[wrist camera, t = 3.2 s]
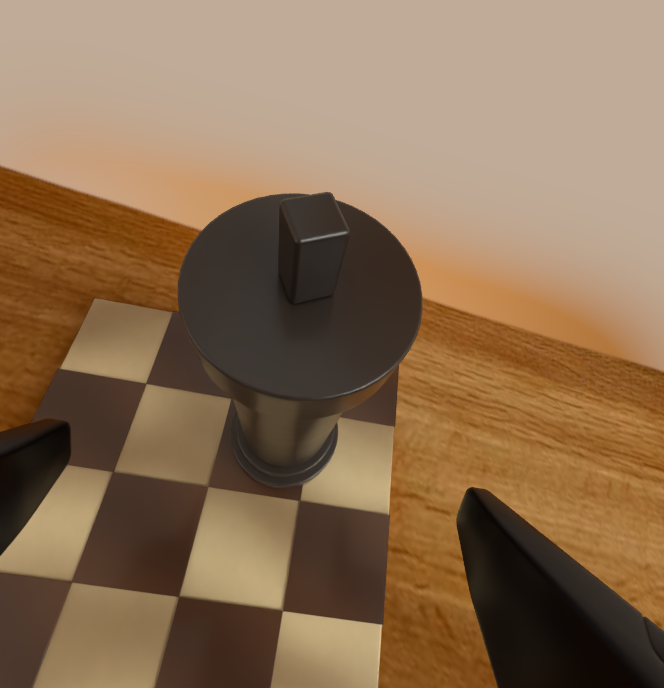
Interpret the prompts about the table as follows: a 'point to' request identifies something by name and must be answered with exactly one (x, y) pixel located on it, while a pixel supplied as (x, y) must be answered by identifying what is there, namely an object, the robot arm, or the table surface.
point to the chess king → (296, 323)
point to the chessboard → (191, 534)
